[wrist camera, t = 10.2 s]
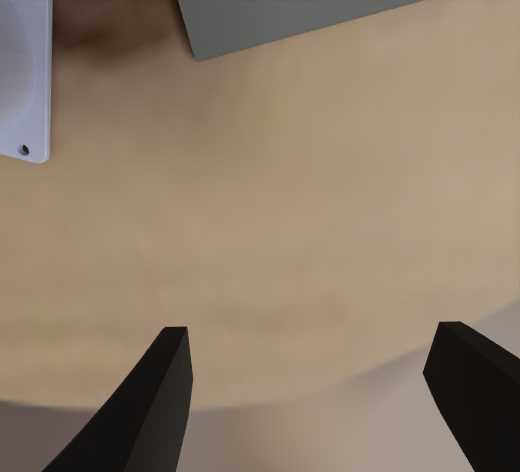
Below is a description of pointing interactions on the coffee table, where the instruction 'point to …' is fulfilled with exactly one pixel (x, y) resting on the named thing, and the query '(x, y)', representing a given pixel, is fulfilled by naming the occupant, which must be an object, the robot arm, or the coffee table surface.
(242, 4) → the mat
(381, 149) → the coffee table surface
